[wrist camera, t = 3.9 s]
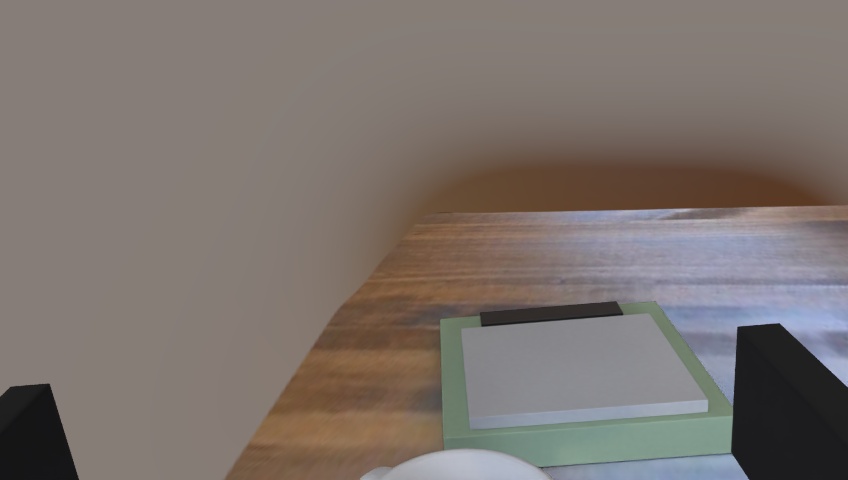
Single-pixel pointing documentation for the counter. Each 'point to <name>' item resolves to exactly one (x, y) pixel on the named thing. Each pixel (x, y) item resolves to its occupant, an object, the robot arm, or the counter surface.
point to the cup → (461, 467)
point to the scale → (578, 386)
